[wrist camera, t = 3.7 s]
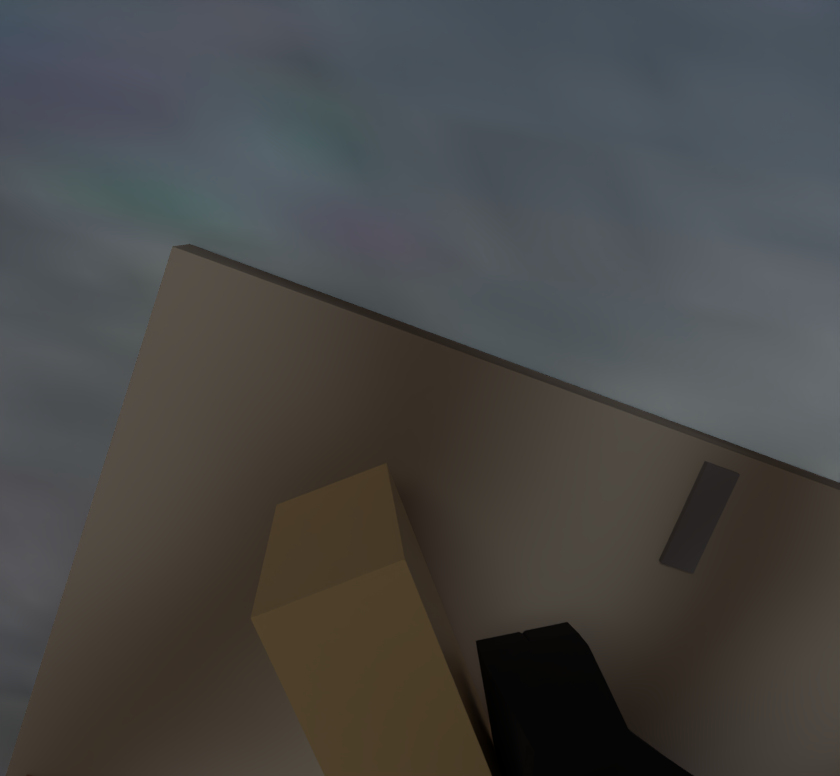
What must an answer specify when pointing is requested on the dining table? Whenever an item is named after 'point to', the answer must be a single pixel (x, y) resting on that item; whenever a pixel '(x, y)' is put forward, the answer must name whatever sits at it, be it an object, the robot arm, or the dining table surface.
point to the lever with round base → (367, 638)
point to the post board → (425, 541)
